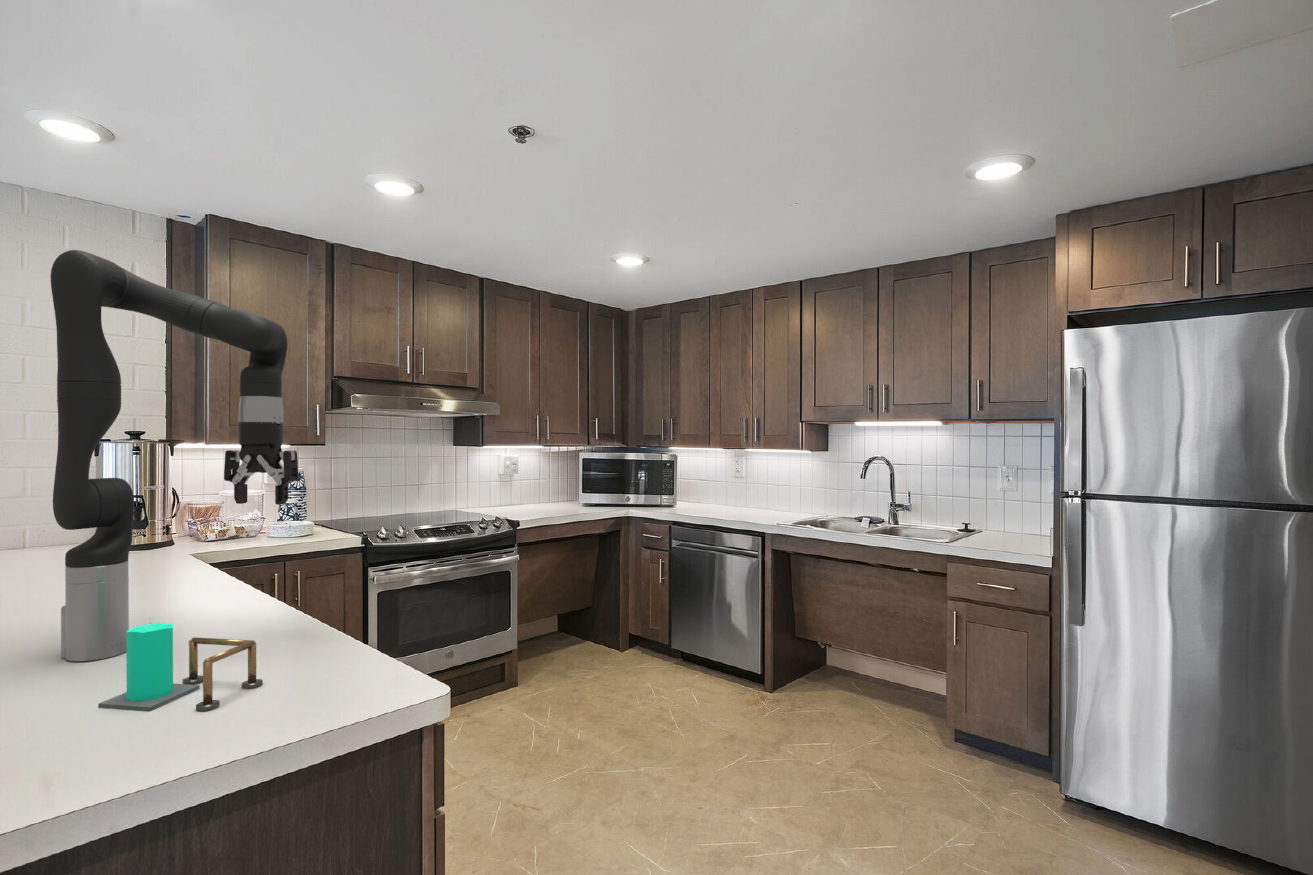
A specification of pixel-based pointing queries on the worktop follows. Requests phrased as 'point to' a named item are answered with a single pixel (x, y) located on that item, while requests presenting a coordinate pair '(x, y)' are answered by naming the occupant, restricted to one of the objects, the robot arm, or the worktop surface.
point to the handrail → (207, 664)
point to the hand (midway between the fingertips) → (261, 503)
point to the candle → (149, 661)
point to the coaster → (151, 704)
